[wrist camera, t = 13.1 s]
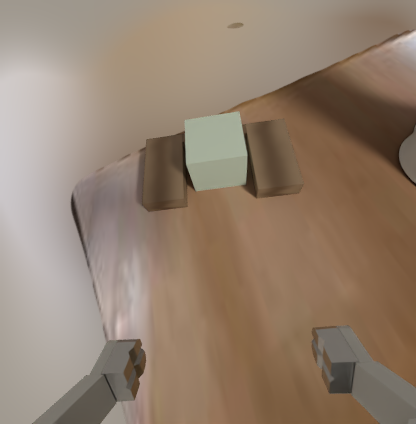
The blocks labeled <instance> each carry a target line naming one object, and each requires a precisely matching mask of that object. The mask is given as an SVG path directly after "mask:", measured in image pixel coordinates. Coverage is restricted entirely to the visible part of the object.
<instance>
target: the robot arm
mask: <svg viewBox="0 0 416 424" xmlns="http://www.w3.org/2000/svg"><path fill="white" fill-rule="evenodd" d="M399 160H400V163H401V166H402V168H403V170H404V171H405V173H406V174H407V175H408V177H409V178H410V179H411V180H412V181H413V182H414V183H416V125H415V128H414V132H413V133H412V134H411V135H410V136H409V137H408V138H406V139H405V140H404V142H403V143H402V145H401V147H400V150H399ZM312 335H313V338H314V339H313V340H312V351H313V355H314V358H315V361H316V363H317V365H318V366H319V367H320V368H321V369H322V378H323V380H324V383H325V385H326V387H327V390H328V392H329V394H337V393H352V394H351V395H352V396H353V397H354V398H355V399H356V400H357V401H358V402H359V403H360V404H361V405H362V406H363V407H364V408H365V409H366V410H367V411H368V412H369V413H370V414H371V415H372V416H373V417H374V418H375V419H376V420H377V421H378V422H379V423H380V424H416V388H415V387H414V386H412V385H411V384H410V383H408V382H407V381H405V380H404V379H402V378H401V377H399V376H398V375H397V374H395V373H394V372H392V371H391V370H389V369H388V368H386V367H385V366H384V365H382V364H381V363H379V362H378V361H373V360H372V358H371V357H370V355H369V354H368V352H367V351H366V349H365V348H364V346H363V345H362V343H361V342H360V340H359V339H358V337H357V336H356V335H355V333H354V332H353V330H352V329H351V327H350V326H348V325H346V326H328V327H316V328H313V329H312ZM141 346H142V343H141V340H140V339H129V340H109V341H108V342H107V343H106V345H105V347H104V349H103V351H102V353H101V354H100V356H99V358H98V360H97V362H96V364H95V366H94V367H93V369H92V371H91V373H90V375H86V376H85V377H84V378H83V379H82V380H81V381H79V382H78V383H77V384H76V385H75V386H74V387H73V388H72V389H71V390H69V391H68V392H67V393H66V394H65V395H64V396H63V397H62V398H60V399H59V400H58V401H57V402H56V403H55V404H54V405H53V406H51V407H50V408H49V409H48V410H47V411H46V412H45V413H44V414H43V415H41V416H40V417H39V418H38V419H37V420H36V421H35V422H34V423H32V424H100V423H101V422H102V421H103V419H104V418H105V417H106V416H107V414H108V413H109V412H110V411H111V409H112V408H113V407H114V405H115V404H116V402H117V401H132V400H135V398H136V394H137V391H138V388H139V385H140V383H139V379H138V378H139V377H140V376H141V375H142V374H143V372H144V369H145V363H146V355H145V351H144V350H143V349H141Z"/></svg>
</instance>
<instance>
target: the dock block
mask: <svg viewBox="0 0 416 424" xmlns="http://www.w3.org/2000/svg"><path fill="white" fill-rule="evenodd" d="M242 129H243V134H244V140H245V144H247V149H248V154H249V160H250V165H251V170H252V176H253V181H254V186H255V192H256V197H257V198H264V197H272V196H281V195H289V194H297V193H299V192H300V190H301V188H302V187H303V185H304V182H303V179H302V176H301V172H300V169H299V166H298V163H297V159H296V156H295V153H294V149H293V146H292V143H291V139H290V136H289V133H288V130H287V126H286V123H285V120H284V119H278V120H271V121H265V122H258V123H252V124H245V125H242ZM142 204H143V206H144V207H145V208H146V209H147V210H148V211H157V210H165V209H174V208H182V207H187V176H186V148H185V134H180V135H173V136H167V137H160V138H153V139H147V140H146V154H145V168H144V182H143V197H142Z"/></svg>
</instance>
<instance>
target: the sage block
mask: <svg viewBox="0 0 416 424" xmlns="http://www.w3.org/2000/svg"><path fill="white" fill-rule="evenodd" d="M185 148H186V166H187V168H188V171H189V174H190V177H191V179H192V182H193V185H194V188H195V190H196V191H201V190H209V189H216V188H224V187H232V186H239V185H246V174H247V150H246V145H245V140H244V134H243V129H242V124H241V118H240V113H239V112H233V113H226V114H220V115H214V116H208V117H202V118H195V119H189V120H185Z"/></svg>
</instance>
